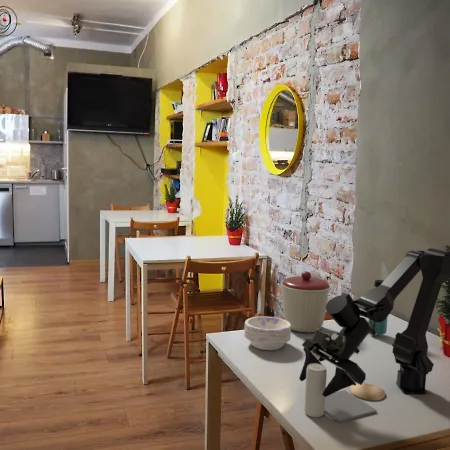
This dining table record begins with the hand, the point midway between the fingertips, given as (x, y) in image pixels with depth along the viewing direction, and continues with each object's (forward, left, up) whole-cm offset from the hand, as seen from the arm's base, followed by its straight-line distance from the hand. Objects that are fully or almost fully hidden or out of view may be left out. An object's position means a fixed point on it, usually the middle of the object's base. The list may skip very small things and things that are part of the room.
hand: (311, 387), depth 128 cm
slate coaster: (-9, -4, -7) cm, 12 cm away
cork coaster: (-18, -13, -7) cm, 23 cm away
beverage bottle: (-34, -58, -7) cm, 67 cm away
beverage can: (-1, -1, -7) cm, 7 cm away
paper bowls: (+6, -46, -7) cm, 47 cm away
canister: (-9, -64, -7) cm, 64 cm away
